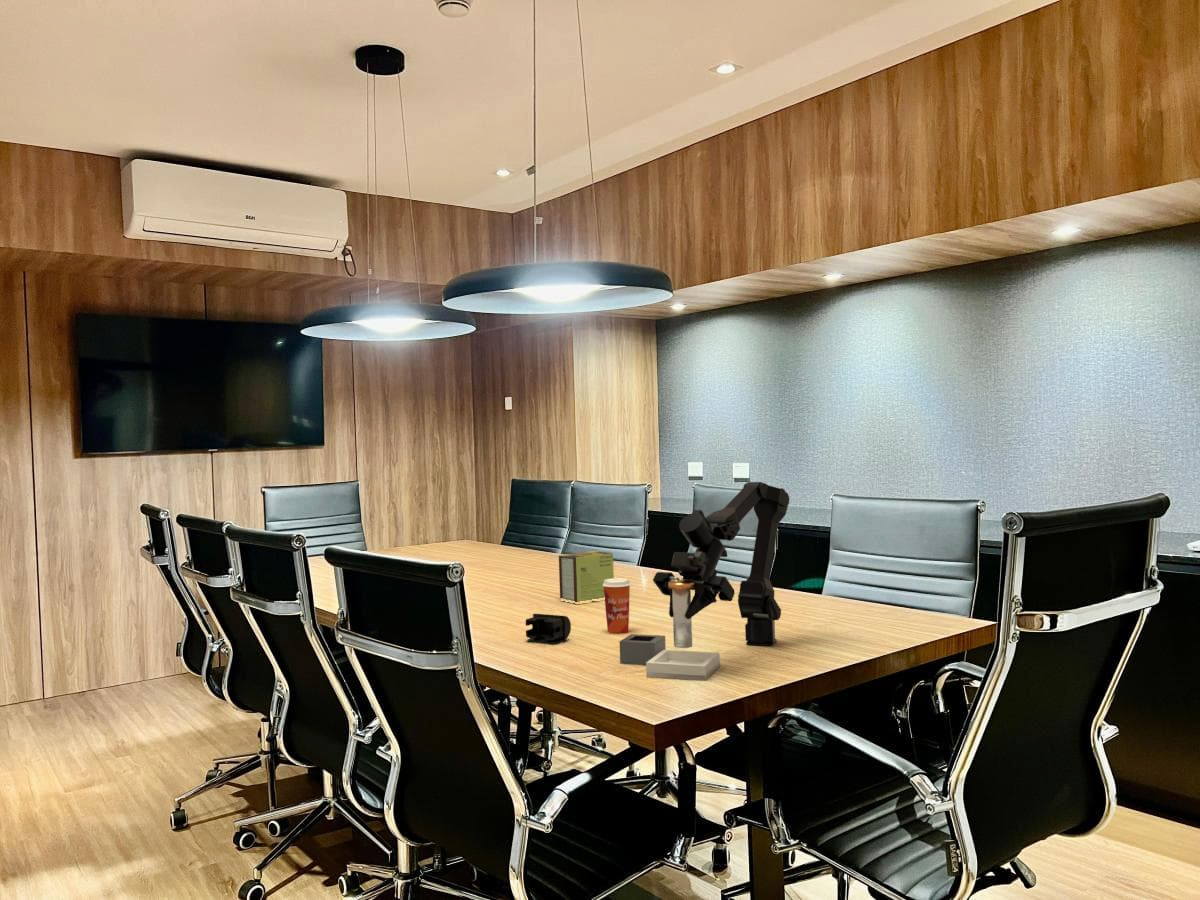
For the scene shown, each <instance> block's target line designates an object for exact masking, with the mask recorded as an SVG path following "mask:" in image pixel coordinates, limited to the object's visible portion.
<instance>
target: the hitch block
mask: <svg viewBox="0 0 1200 900" xmlns="http://www.w3.org/2000/svg"><path fill="white" fill-rule="evenodd" d="M618 643H619V664H627V665H628V664H629V665H645V666H646V662H648V661H649V660H650V659H652V658H653V657H654V656H656V655H657V654H659V653H660V652H661V651H663V650H667V648H666V647H667V646H666V635H659V634H638V633H637V634H635V633H632V634H631V633H630V634H629V635H628V636H626V637H625V638H623V639H621V640H620V641H619V642H618Z"/></svg>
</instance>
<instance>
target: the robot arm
mask: <svg viewBox="0 0 1200 900" xmlns="http://www.w3.org/2000/svg"><path fill="white" fill-rule="evenodd" d="M789 504H790V495H789V493H788V492H787V491H786V490H785V489H784V488H782V487H780V488H779V487H776V486H772V485H769V484H767V483H765V482H763V481H747V482H745V483H744V485H743V487H742V489H741V490H740V491H739V492H738V493H737V494H736V495H735V496H734V497H733V498H732V499H731V501H729V502H728V504H727V505H726V506H724V507H723V508H722V509H718V510H716V511H713V512H712V513H710V514H709V515H707V516H705V513H704V512H703V510H702V509H693V511H692V513H689V514H687V515H685V516H684V517H683V518H682V519H681V520H680V522H679V524H678V525H679V526H678V528H679V530H680V531H681V533H682V534H683V536H684V537H685V538H686V540H687V541H688V543H689V545H690V546H691V547H693V548H696V550H695V551H694V553H690V552H685V551H684V552H683V551H681V552H680V551H674V553H673V556H672V560H671V567H672V568H675V569H677V570H678V574H679V576H680V577H682V578H679V577H678V576H675V575H674V574H673V572H670V571H669V572H668V571H658V572H656V573H655V574H654V577H653V579H652V581H653V583H654V584H655V585H656V587H657V588H658V590H659V591H660V592H661V594H662V595H664V596H669V608H668V610H669V611H668V615H669V617H670V618H673V600H672V589H671V588H669V587H668V582H670V581H676V580H689V581H693V582H694V587H693V588H690V589H691V591H694V595H693V597H692V598H691V603H690V606H689V608H688V610H687V613H686V618H687V619H690V618H691V619H692V618H693V617H694V616H695V615H697V614H698V613H699V612H701V611H702V610H704V609H705V608H707V607H708V606H710V605H711V604H716V603H717V601H718V600H717V598H716V597H718V599H719V601H725V602H732V601H733V598H734V597H735V589H734V588H733V586H732V584H731V583H730V581H729V580H728V578H727V577H726V576H724V575H723V576H722V575H717V574H718V571H717V570H716V568H717V566H718V563H719V562H720V559H721V558H727V557H728V552H727V549H726V545H725V544H723V543H722V541H733V540H734V539H735V538H736V536H737V535H738V533H739V531H740V530H741V524H740V523H741V522H742V520H743V519H744V518H745V517H746V516H747V515H748V514H749V513H750V512H751V511H752V509H753V511H754V513H755V516H756V518H757V527H756V533H755V534H756V535H755V540H754V546H753V553H752V561H751V566H750V567H751V568H750V573H749V576H748V578H747V579H746V580H742V581H740V584H739V592H738V595H737V604H738V609H739V613H740V617H741V618H742V619H747V620H746V623H745V626H744V627H745V628H744V629H745V631H744V632H745V641H746V645H749V646H750V645H751V646H770V647H772V646H774V644H775V643H776V642H777V640H778V639H777V638H776V629H775V628H776V627H775V626H776V625H775V621H779V620H780V619H781V616H782V609H781V607H780V606H779V604H778V602H777V601H776V599H775V589H774V587H773V584H772V582H771V574H772V573H771V572H772V566H773V559H774V554H775V553H774V552H775V546H776V539H777V533H778V526H779V523H780V522H781V521H783V519H784V518H785V516H786V515H787V511H788V507H789Z"/></svg>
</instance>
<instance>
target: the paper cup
mask: <svg viewBox="0 0 1200 900" xmlns="http://www.w3.org/2000/svg"><path fill="white" fill-rule="evenodd" d="M631 585H632V583H631V582H630V580H629V579H628V578H620V577H619V578H617V577H616V578H614V579H606V580H604V584H603V586H604V595H605V601H604V605H605V607H604V608H605V609H604V610H605V615H606V626H607V632H609V634H615V635H616V634H617V635H618V634H620V633H622V634H626V633H628V632H629V629H630V628H629V625H630V592H631V591H630V589H631V587H630V586H631ZM620 635H621V634H620Z"/></svg>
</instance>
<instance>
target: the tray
mask: <svg viewBox="0 0 1200 900" xmlns="http://www.w3.org/2000/svg"><path fill="white" fill-rule="evenodd" d="M720 655H721V654H720V652H714V651H695V650H693V651H692V650H678V649H676V650H675V649H666V650H663V651H661V652H660V653H659V654H657V655H656V656H654V657H653V658H652V659H650V660H649V661H648V662H646V665H645V668H646V669H645V670H646V671H645V672H646V675H645V676H646V677H647V678H660V679H661V678H662V679H663V678H664V679H675V680H676V679H677V680H692V681H694V680H695V681H706V680H708V679H709V678H710V677H711V676H712V674H714V673H715V672H716V670H718V669H719V668H720V667H721V659H720V658H721V657H720Z"/></svg>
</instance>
